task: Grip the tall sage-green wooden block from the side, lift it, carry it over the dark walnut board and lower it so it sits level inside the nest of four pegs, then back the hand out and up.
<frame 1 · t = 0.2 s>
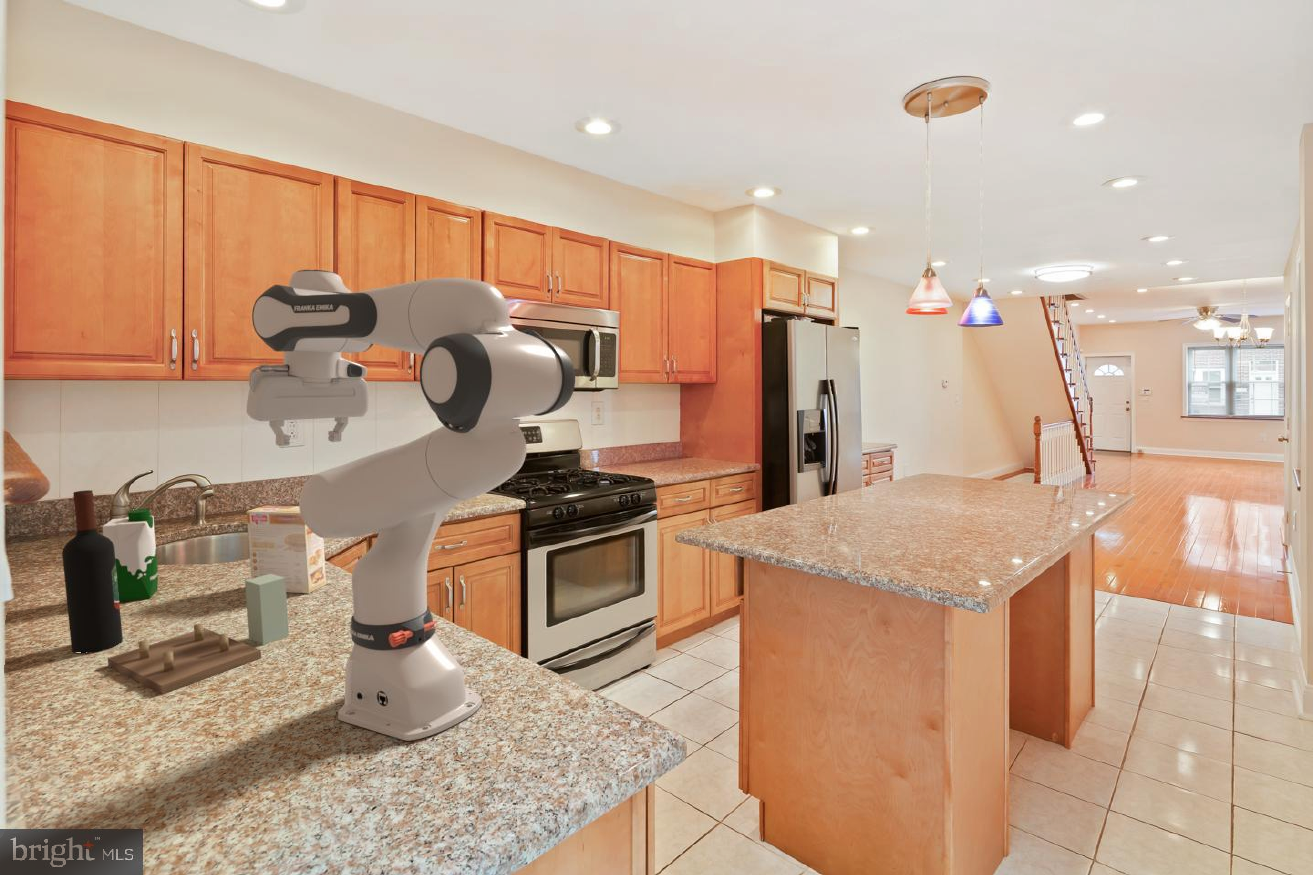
hand: (309, 443, 120), 40 cm above the countertop, tool pointing down, fingers open, 8 cm apart
wine bottle: (97, 646, 130), on the countertop
block: (269, 637, 134), on the countertop
milk carton: (135, 596, 157), on the countertop
nest board: (185, 661, 123), on the countertop
coffeecake box: (289, 588, 163), on the countertop
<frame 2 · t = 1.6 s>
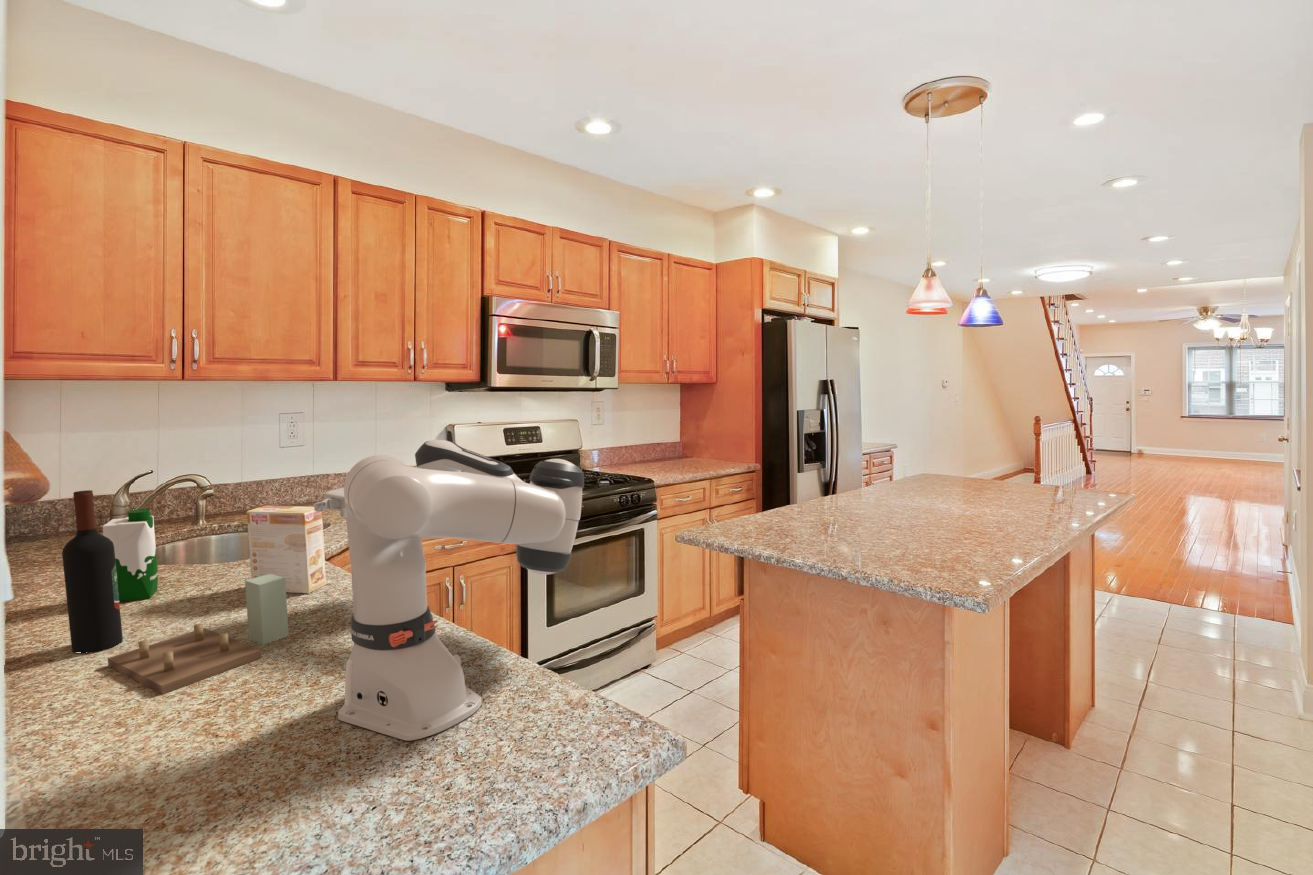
hand: (328, 510, 142), 23 cm above the countertop, tool horizontal, fingers open, 8 cm apart
nothing on the countertop moved.
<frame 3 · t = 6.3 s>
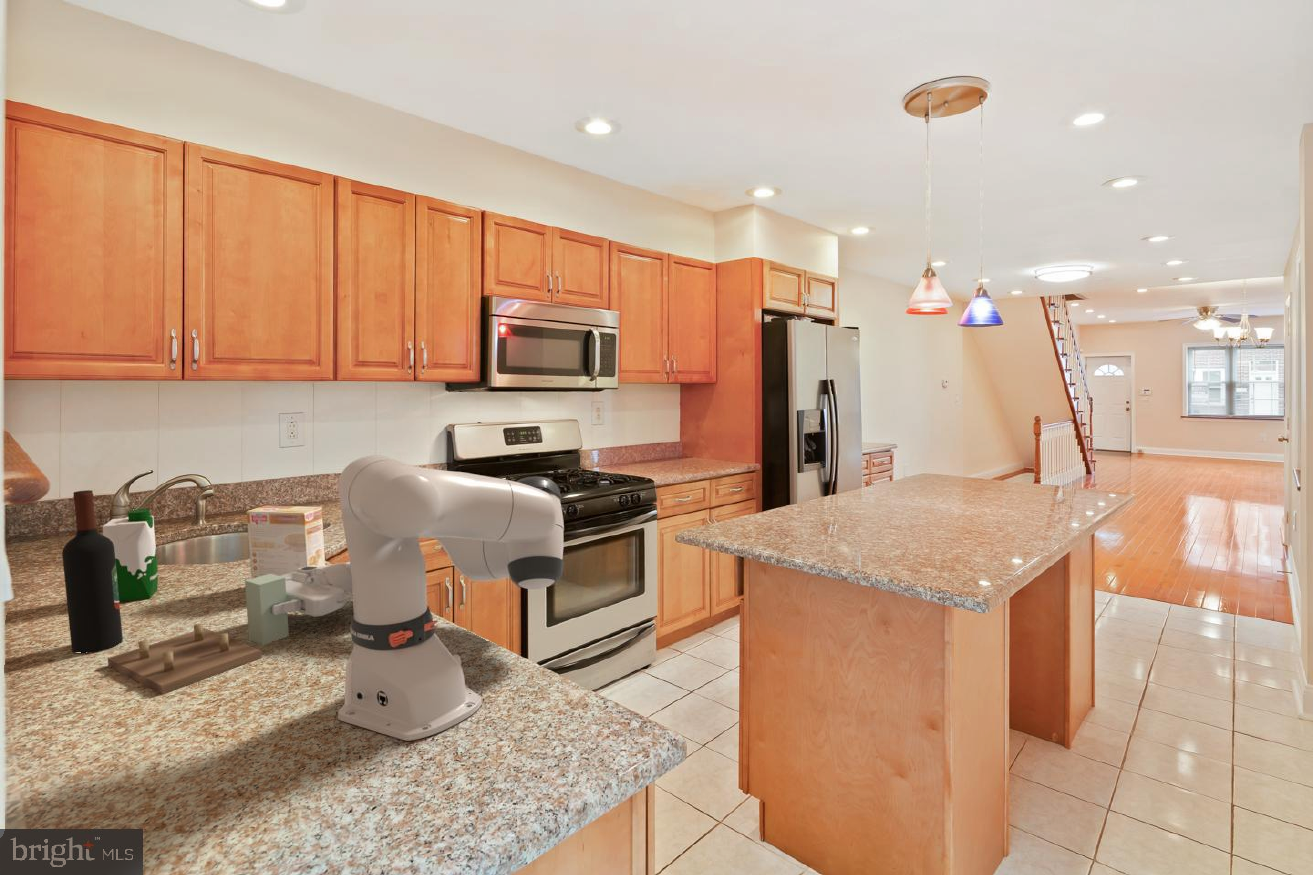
hand: (262, 607, 132), 7 cm above the countertop, tool horizontal, fingers closed on block, 5 cm apart
block: (269, 637, 134), on the countertop, touching gripper
everything else where it was.
when the fingers open (10 cm above the countertop, at t = 11.2 s): block drops 2 cm, resting on nest board.
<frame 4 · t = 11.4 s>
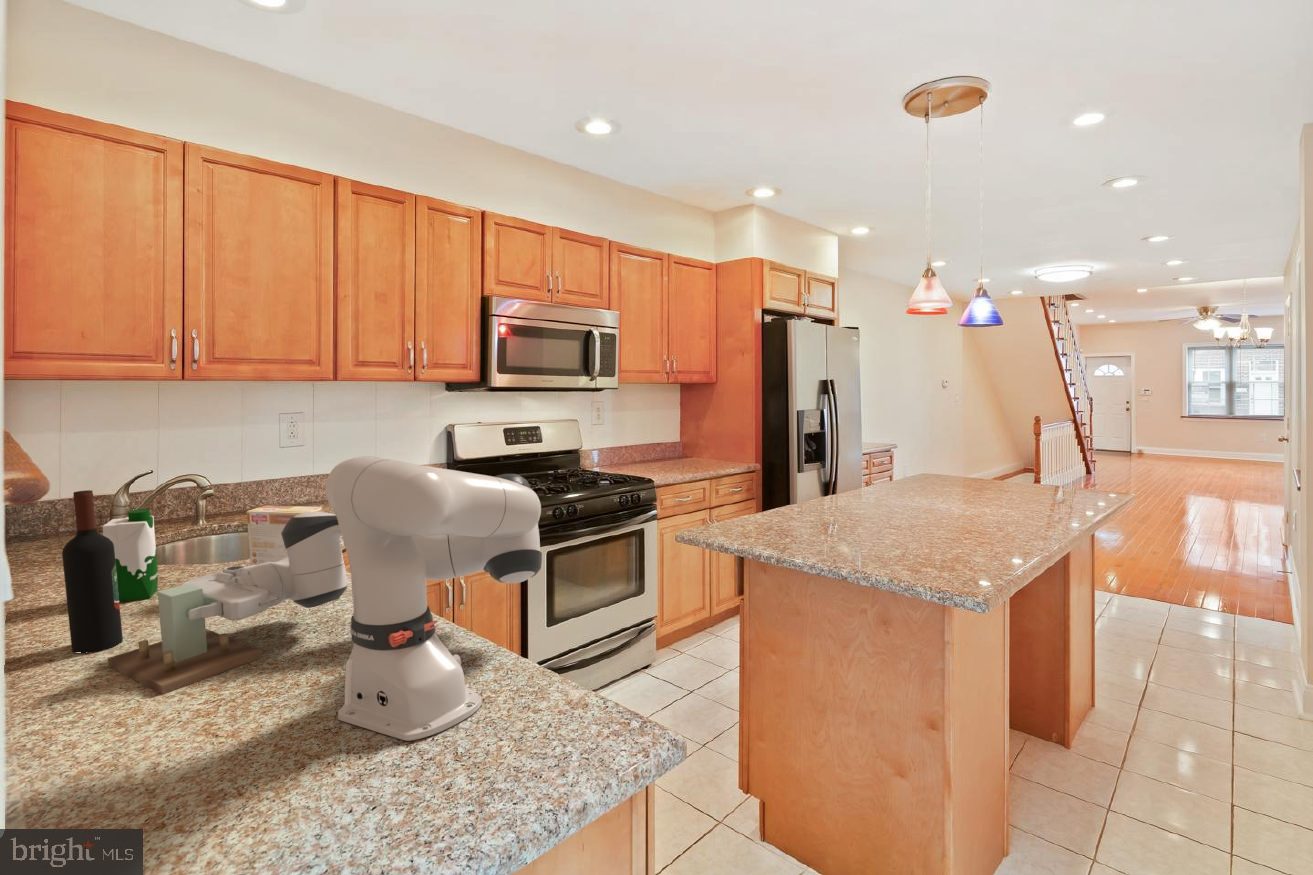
hand: (176, 610, 121), 10 cm above the countertop, tool horizontal, fingers open, 7 cm apart
block: (185, 653, 123), point 1 cm above the countertop, touching nest board
everything else where it was.
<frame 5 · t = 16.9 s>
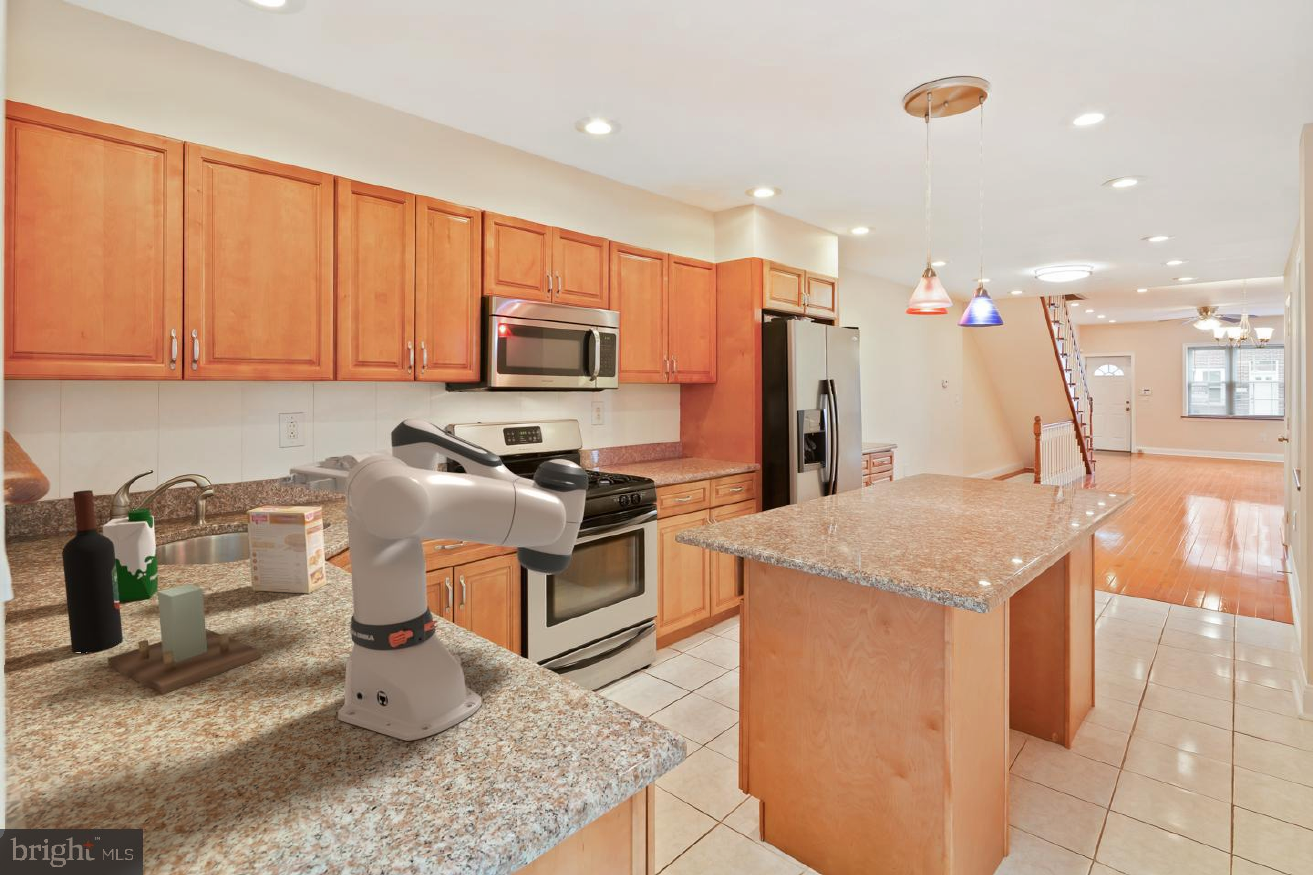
hand: (294, 484, 135), 30 cm above the countertop, tool horizontal, fingers open, 8 cm apart
nothing on the countertop moved.
at the end: block 0.0 cm off-centre on the nest board, point 1.5 cm above the nest board's base; block tilted 0°; the gripper is holding nothing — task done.
